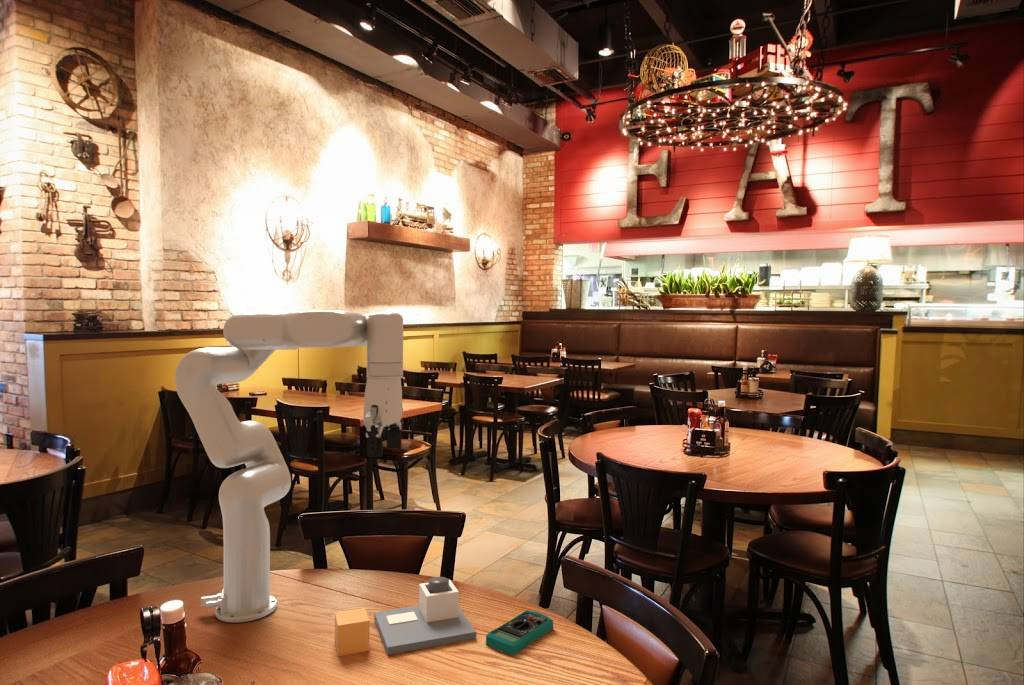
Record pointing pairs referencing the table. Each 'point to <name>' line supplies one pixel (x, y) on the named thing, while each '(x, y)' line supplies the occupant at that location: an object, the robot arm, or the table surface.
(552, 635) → the table surface
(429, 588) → the breaker button
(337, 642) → the orange foam cube
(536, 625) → the digital multimeter
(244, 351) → the robot arm
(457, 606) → the board
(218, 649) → the table surface
